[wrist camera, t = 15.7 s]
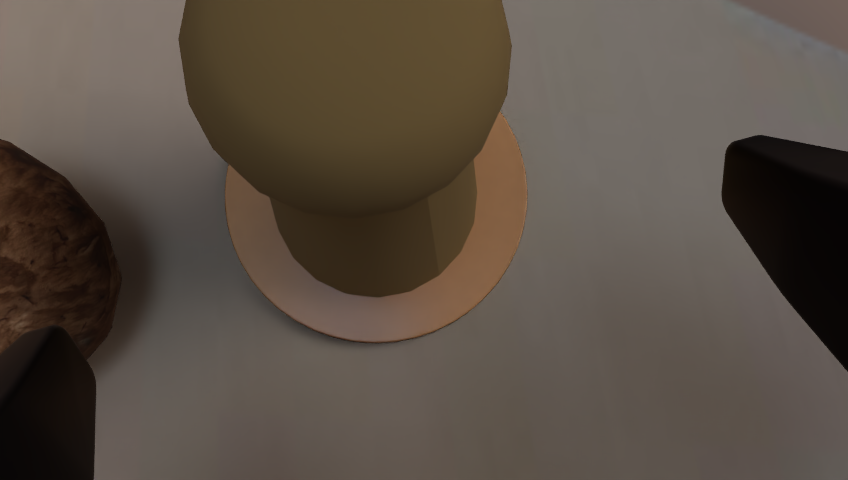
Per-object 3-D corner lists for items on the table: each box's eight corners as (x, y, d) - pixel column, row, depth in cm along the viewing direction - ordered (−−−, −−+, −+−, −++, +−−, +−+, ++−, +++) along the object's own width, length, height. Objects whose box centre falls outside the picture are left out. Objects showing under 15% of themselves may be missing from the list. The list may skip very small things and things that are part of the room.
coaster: (522, 56, 21) (524, 50, 21) (528, 344, 20) (530, 343, 19) (236, 52, 21) (233, 46, 21) (219, 342, 20) (215, 341, 19)
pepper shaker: (246, 137, 20) (62, -120, 9) (435, 73, 21) (465, -241, 10) (311, 327, 19) (190, 284, 8) (507, 255, 20) (627, 128, 9)
